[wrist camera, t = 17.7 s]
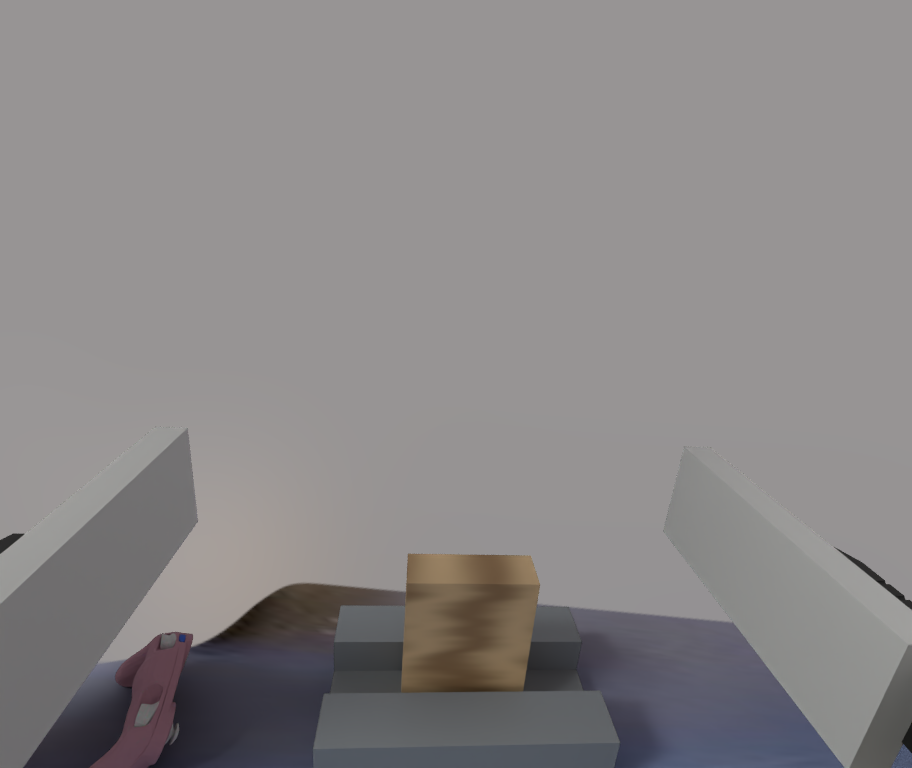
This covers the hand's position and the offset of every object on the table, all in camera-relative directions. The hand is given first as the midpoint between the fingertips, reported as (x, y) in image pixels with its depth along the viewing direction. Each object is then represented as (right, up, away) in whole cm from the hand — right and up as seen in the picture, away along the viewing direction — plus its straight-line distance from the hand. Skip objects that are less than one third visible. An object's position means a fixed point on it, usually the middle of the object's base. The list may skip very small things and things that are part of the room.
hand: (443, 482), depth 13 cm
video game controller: (-22, -23, +23) cm, 39 cm away
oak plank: (+1, -22, +25) cm, 33 cm away
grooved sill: (+1, -23, +26) cm, 35 cm away
